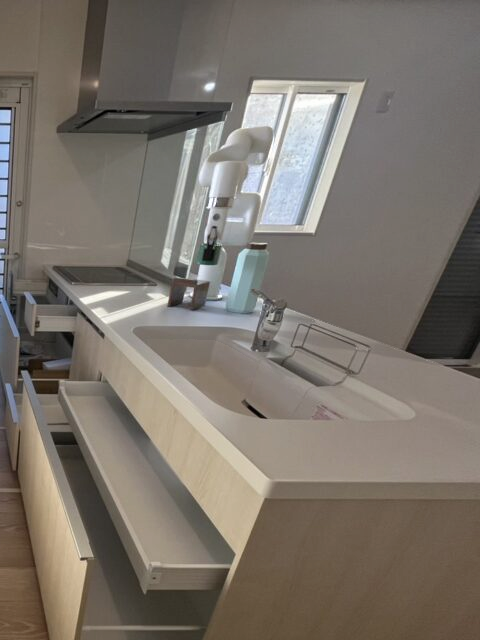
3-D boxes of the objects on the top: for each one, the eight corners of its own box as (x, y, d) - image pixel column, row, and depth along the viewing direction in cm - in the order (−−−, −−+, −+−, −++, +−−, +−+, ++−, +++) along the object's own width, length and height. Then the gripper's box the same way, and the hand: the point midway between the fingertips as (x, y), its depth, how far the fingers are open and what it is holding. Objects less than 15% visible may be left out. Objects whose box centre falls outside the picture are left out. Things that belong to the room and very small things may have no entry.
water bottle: (244, 315, 154) (263, 245, 143) (219, 309, 162) (235, 243, 151) (260, 311, 158) (279, 243, 147) (234, 306, 166) (251, 241, 156)
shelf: (180, 301, 174) (186, 274, 169) (204, 306, 167) (211, 277, 162) (167, 306, 168) (172, 277, 163) (191, 310, 161) (198, 280, 156)
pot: (201, 261, 147) (205, 242, 144) (221, 263, 143) (225, 244, 140) (192, 263, 144) (196, 244, 141) (212, 266, 139) (217, 246, 136)
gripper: (232, 204, 126) (219, 263, 134) (233, 202, 140) (221, 256, 147) (205, 204, 130) (193, 262, 138) (208, 202, 143) (197, 255, 151)
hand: (208, 258), depth 142 cm, fingers closed on pot, 6 cm apart
